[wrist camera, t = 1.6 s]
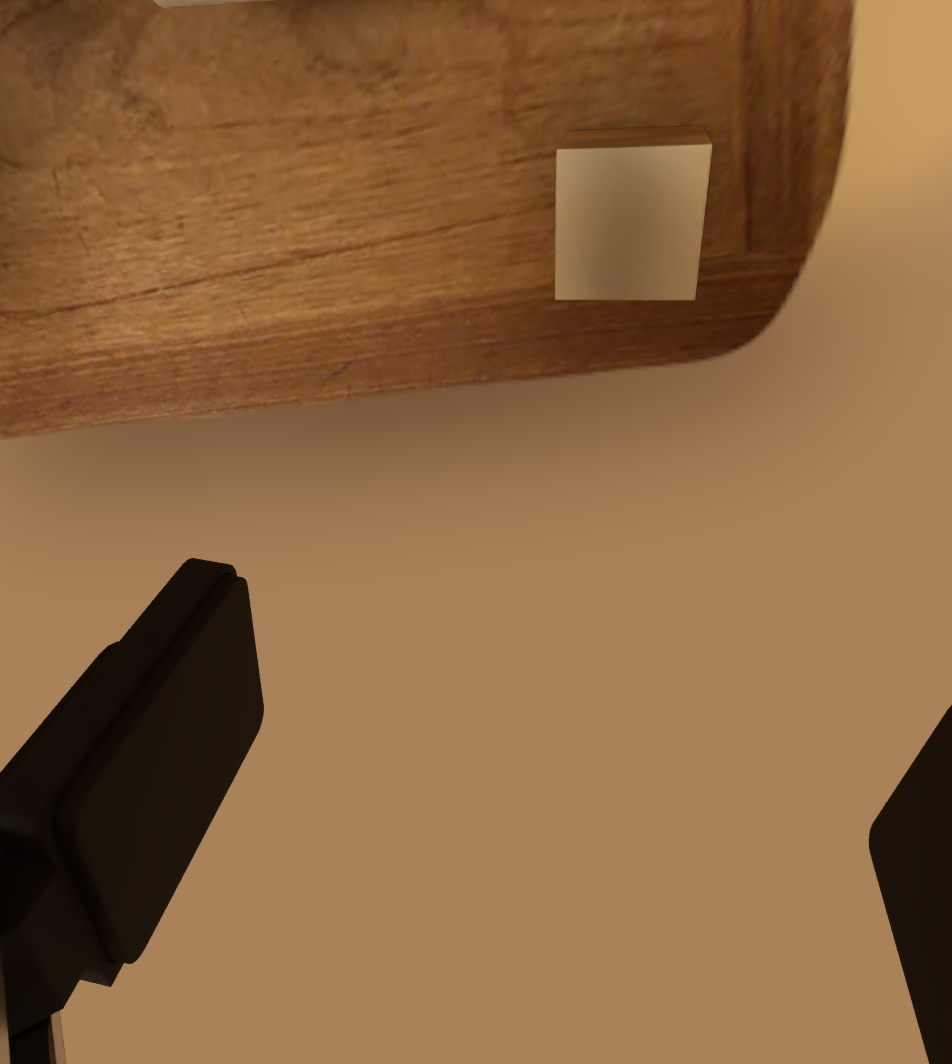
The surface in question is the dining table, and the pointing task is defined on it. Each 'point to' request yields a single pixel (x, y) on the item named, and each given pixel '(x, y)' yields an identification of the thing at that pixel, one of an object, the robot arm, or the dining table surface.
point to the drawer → (198, 2)
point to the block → (630, 213)
